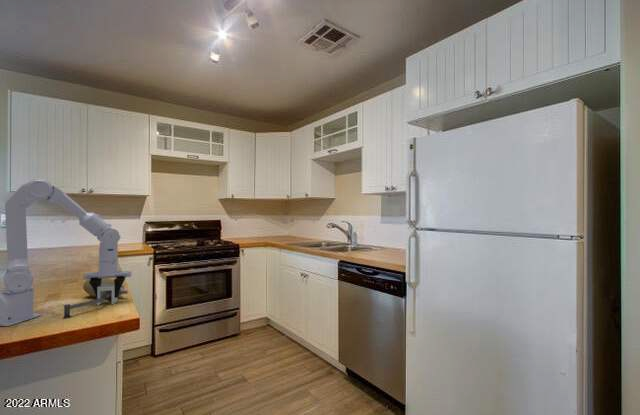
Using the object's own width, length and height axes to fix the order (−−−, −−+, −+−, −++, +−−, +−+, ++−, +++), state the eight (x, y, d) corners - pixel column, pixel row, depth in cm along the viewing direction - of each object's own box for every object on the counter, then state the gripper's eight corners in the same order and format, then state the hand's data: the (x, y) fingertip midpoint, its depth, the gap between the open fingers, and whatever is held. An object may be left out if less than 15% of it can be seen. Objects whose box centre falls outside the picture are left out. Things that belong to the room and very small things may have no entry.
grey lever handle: (73, 319, 95) (74, 306, 95) (57, 317, 96) (57, 305, 96) (124, 300, 115) (124, 290, 115) (110, 299, 116) (110, 289, 116)
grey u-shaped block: (114, 303, 111) (114, 286, 111) (97, 305, 109) (97, 287, 109) (117, 300, 114) (117, 283, 114) (101, 302, 113) (101, 284, 113)
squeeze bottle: (96, 294, 124) (132, 302, 120) (77, 295, 117) (115, 304, 113) (101, 274, 126) (137, 281, 122) (83, 274, 118) (120, 281, 114)
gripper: (133, 258, 118) (133, 293, 118) (89, 259, 113) (88, 296, 113) (128, 261, 111) (128, 298, 111) (81, 262, 107) (80, 301, 107)
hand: (107, 297), depth 112 cm, fingers closed on grey u-shaped block, 5 cm apart
